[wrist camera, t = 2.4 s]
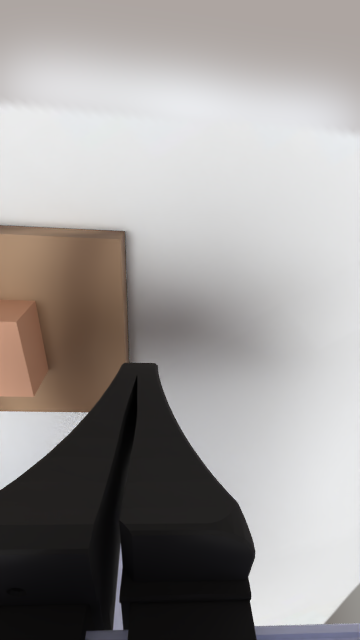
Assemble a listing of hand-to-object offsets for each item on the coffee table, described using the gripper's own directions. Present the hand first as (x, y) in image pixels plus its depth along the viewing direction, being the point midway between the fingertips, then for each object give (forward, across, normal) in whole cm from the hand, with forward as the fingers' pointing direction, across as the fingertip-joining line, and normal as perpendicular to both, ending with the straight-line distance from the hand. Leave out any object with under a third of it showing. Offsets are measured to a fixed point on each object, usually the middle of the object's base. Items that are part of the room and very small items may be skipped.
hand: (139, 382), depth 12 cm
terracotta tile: (+3, +7, 0) cm, 8 cm away
